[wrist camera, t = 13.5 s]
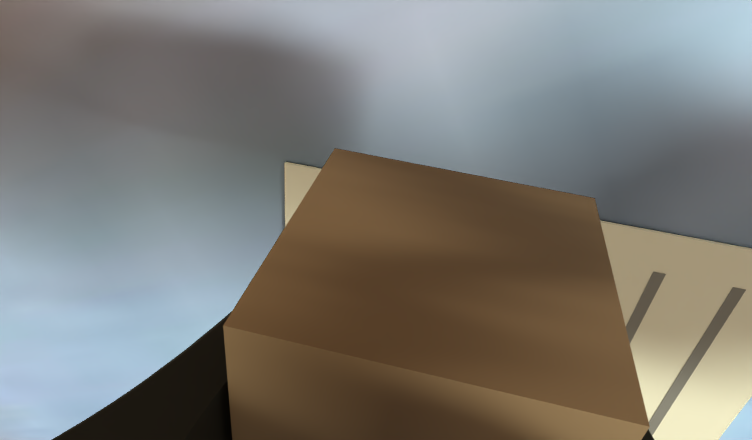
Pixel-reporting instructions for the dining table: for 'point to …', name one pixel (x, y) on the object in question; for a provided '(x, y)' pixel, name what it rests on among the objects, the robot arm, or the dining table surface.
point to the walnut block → (432, 315)
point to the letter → (667, 320)
